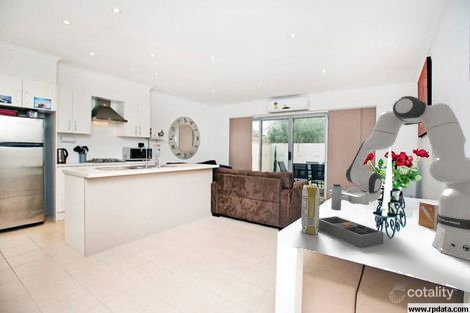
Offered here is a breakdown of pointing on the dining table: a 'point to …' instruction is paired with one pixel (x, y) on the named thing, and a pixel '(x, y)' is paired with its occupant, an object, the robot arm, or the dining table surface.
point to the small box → (428, 214)
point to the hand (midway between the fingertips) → (335, 196)
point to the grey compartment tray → (350, 231)
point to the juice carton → (310, 209)
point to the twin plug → (360, 230)
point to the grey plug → (336, 197)
